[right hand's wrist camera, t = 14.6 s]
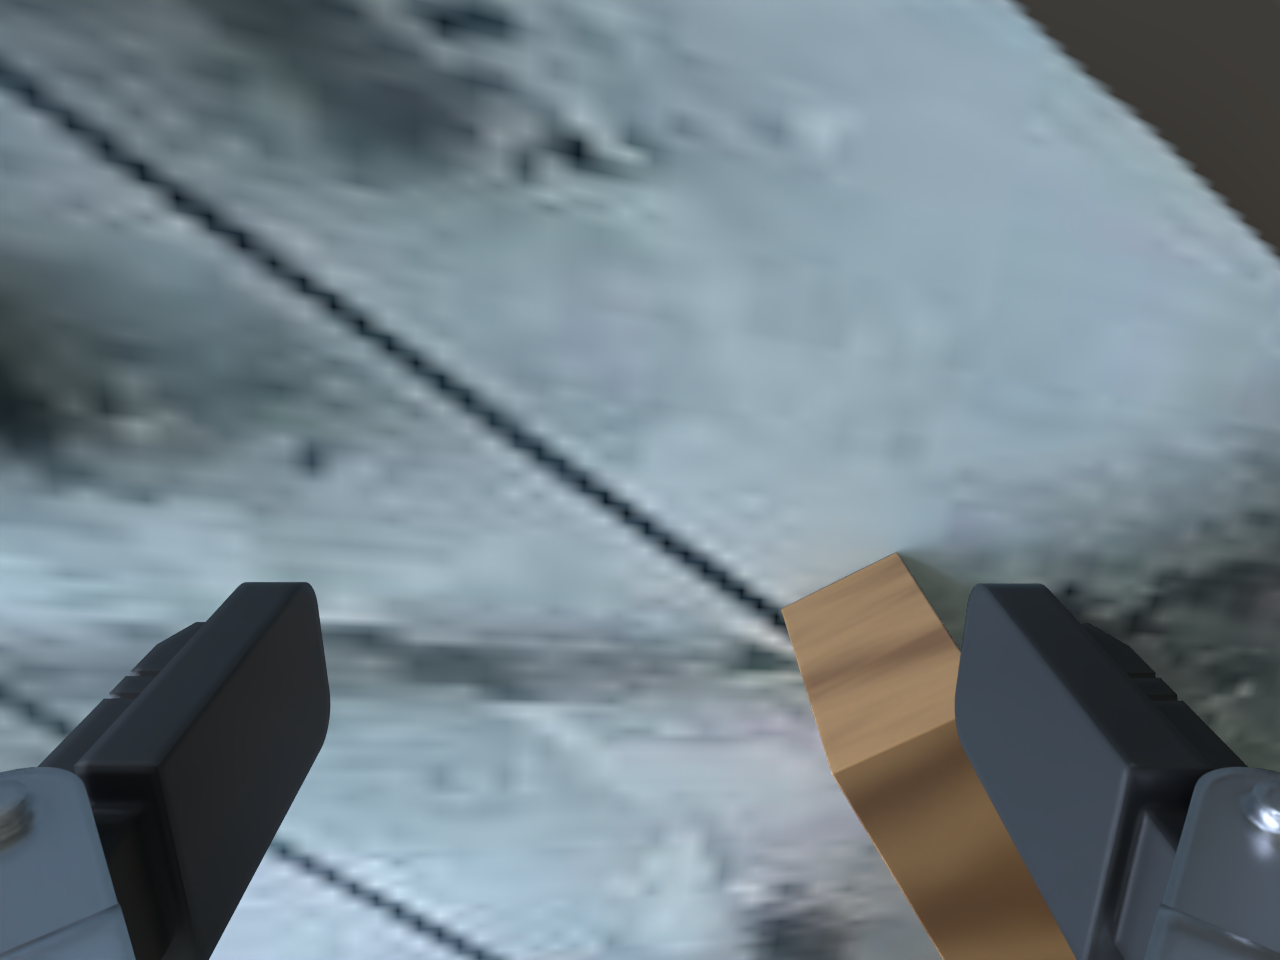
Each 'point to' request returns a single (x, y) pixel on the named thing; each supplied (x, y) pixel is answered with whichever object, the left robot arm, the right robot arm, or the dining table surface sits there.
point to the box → (915, 764)
